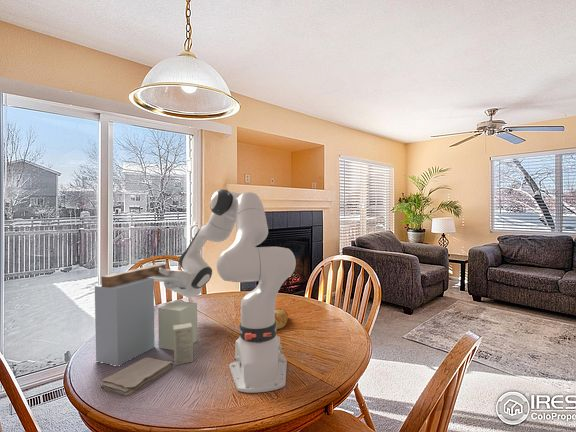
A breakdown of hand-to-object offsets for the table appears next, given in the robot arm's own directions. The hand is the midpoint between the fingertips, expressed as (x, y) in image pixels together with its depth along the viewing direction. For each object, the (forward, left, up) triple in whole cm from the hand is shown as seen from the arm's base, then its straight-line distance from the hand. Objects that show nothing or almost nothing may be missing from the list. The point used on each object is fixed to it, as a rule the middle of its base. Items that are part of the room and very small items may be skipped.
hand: (153, 269), depth 122 cm
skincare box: (-21, -14, -28) cm, 38 cm away
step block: (-6, -10, -28) cm, 31 cm away
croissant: (+7, -50, -29) cm, 58 cm away
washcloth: (-29, -2, -29) cm, 41 cm away
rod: (-7, +4, -2) cm, 9 cm away
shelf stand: (-11, +7, -28) cm, 31 cm away
